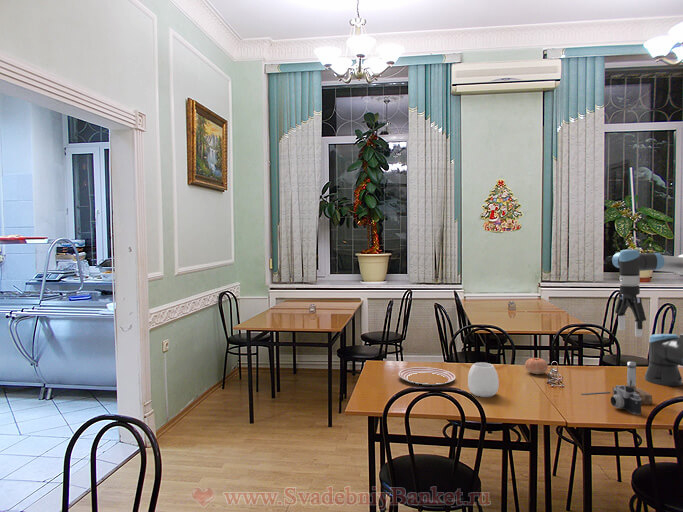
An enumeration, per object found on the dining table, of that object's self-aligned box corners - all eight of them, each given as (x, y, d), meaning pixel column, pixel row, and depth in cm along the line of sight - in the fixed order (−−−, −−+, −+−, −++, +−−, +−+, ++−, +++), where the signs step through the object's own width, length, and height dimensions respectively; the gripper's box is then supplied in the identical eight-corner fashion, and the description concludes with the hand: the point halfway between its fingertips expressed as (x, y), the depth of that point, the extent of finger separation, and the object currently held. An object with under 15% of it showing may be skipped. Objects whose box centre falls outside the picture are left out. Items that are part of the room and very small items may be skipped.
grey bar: (633, 398, 215) (633, 361, 214) (637, 400, 211) (637, 363, 211) (625, 398, 215) (625, 361, 214) (629, 400, 212) (629, 363, 211)
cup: (477, 388, 230) (477, 359, 230) (504, 394, 221) (504, 364, 220) (462, 394, 221) (462, 365, 221) (489, 401, 212) (489, 370, 211)
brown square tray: (638, 395, 218) (638, 387, 218) (652, 403, 207) (652, 395, 207) (612, 394, 219) (612, 387, 219) (624, 403, 208) (624, 395, 208)
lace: (608, 392, 223) (608, 391, 223) (610, 392, 222) (610, 392, 222) (580, 394, 220) (581, 393, 220) (582, 394, 219) (582, 394, 219)
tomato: (521, 370, 259) (521, 355, 259) (541, 370, 260) (541, 354, 260) (531, 376, 248) (531, 360, 248) (552, 375, 249) (552, 360, 249)
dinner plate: (463, 377, 248) (463, 371, 248) (443, 392, 225) (443, 385, 225) (412, 370, 263) (412, 364, 263) (389, 383, 240) (389, 377, 240)
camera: (600, 402, 210) (601, 379, 209) (620, 402, 210) (620, 378, 210) (623, 415, 194) (623, 390, 194) (643, 415, 195) (644, 390, 194)
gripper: (606, 282, 229) (607, 327, 230) (636, 288, 204) (637, 339, 205) (623, 281, 229) (623, 327, 230) (655, 288, 204) (655, 339, 205)
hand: (630, 333), depth 218 cm, fingers open, 13 cm apart
